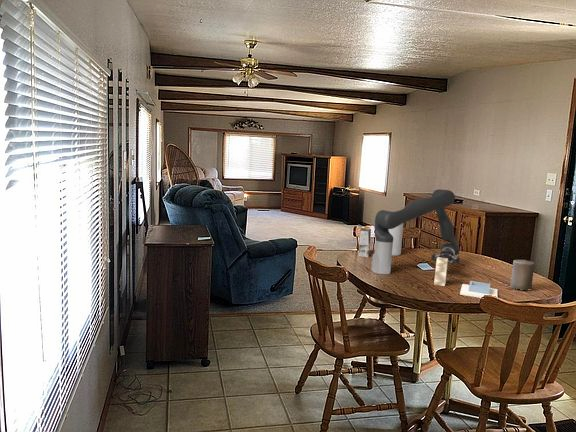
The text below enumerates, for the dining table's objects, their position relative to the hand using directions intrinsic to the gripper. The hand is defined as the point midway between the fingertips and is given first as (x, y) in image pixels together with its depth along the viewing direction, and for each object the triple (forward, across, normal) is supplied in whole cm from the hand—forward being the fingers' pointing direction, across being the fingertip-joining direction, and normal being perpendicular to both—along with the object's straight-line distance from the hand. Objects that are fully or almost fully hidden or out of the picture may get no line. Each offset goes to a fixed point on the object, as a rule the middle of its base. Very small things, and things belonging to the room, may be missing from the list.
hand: (444, 261), depth 248 cm
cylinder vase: (-45, -36, +10) cm, 59 cm away
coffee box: (-30, -50, +10) cm, 59 cm away
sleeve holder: (+17, +18, +10) cm, 27 cm away
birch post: (+12, 0, +10) cm, 15 cm away
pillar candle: (-5, +37, +10) cm, 39 cm away
